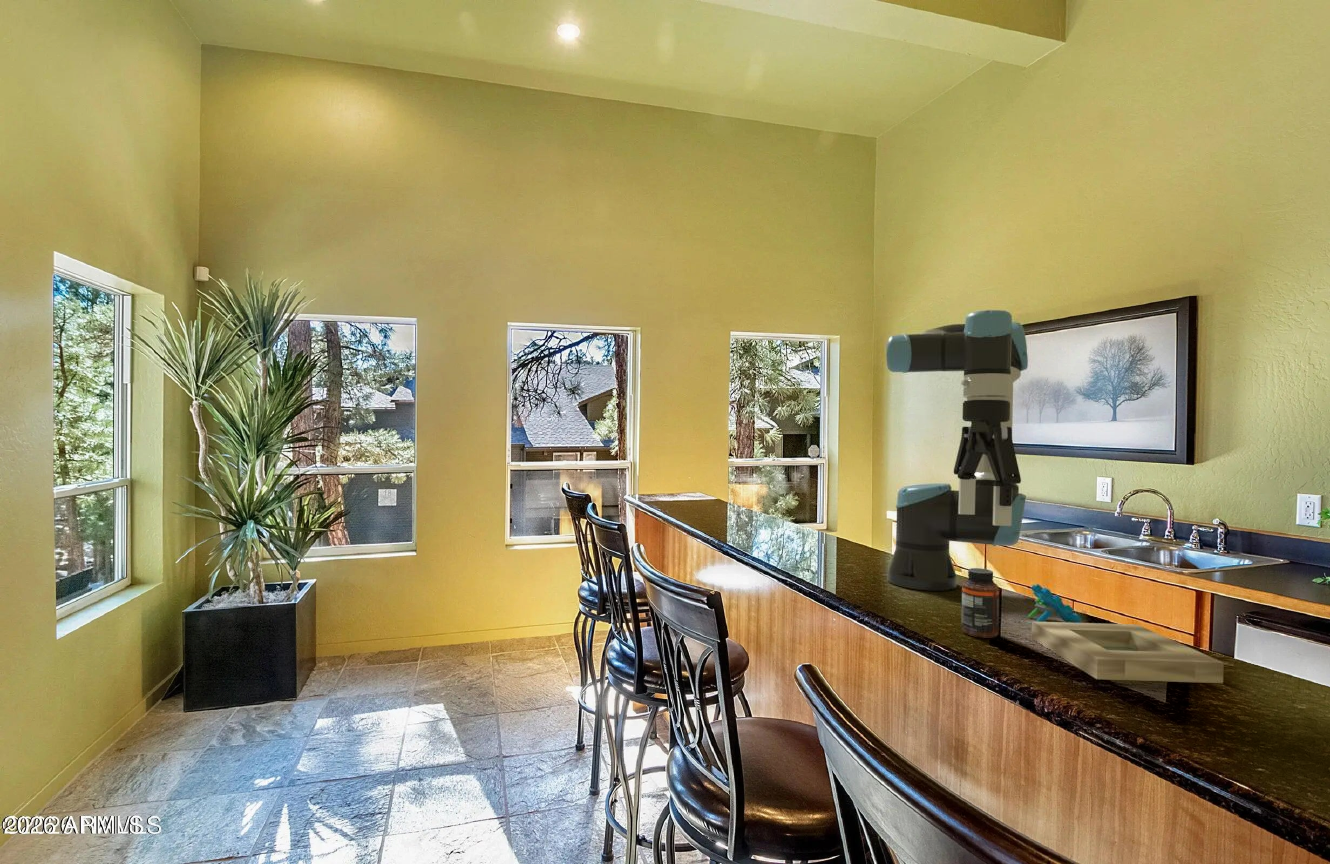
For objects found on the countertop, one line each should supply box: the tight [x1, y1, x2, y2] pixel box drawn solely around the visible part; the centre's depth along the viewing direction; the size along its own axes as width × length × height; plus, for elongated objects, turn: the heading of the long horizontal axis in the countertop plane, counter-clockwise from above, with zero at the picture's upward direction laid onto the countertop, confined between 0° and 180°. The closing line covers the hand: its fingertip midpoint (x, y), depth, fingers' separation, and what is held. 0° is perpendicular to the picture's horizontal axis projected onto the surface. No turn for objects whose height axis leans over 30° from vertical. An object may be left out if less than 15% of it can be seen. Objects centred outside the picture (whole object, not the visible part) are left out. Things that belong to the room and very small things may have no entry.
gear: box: [1027, 583, 1084, 623], centre depth 122 cm, size 11×6×10 cm
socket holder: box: [1031, 621, 1225, 684], centre depth 104 cm, size 18×18×3 cm
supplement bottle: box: [961, 567, 1000, 639], centre depth 115 cm, size 6×6×11 cm
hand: (983, 519), depth 115 cm, fingers open, 13 cm apart
